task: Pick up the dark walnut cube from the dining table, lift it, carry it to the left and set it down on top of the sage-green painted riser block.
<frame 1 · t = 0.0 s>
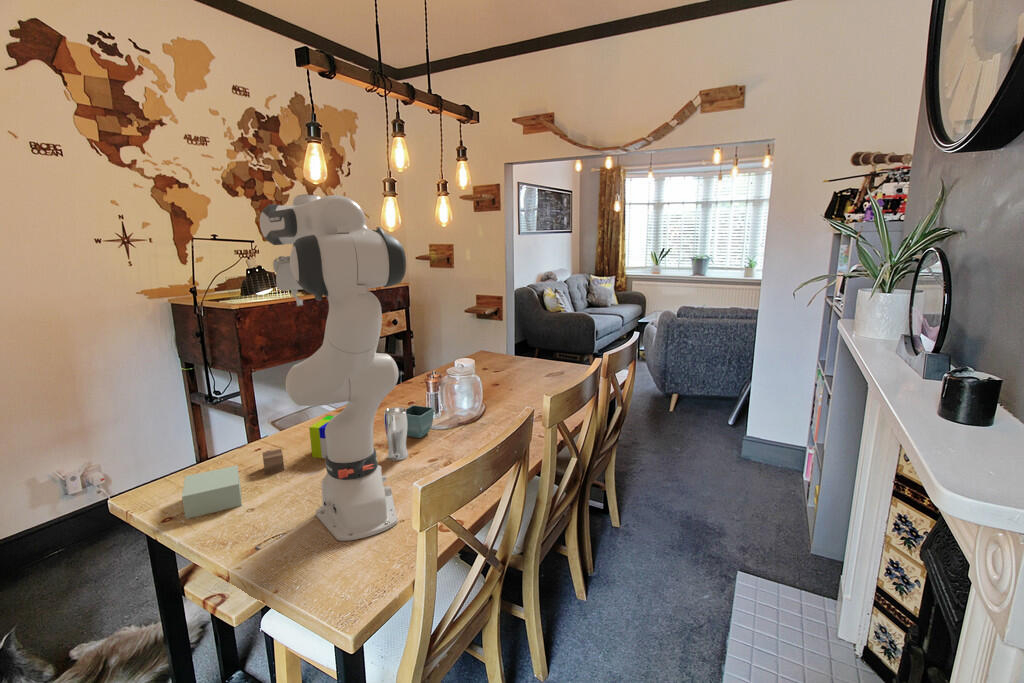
hand: (317, 304, 140), 48 cm above the table, fingers open, 8 cm apart
beer glass: (398, 457, 151), on the table
walnut cube: (274, 469, 144), on the table
flower pot: (417, 435, 168), on the table
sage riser: (214, 501, 126), on the table
puzzle toy: (335, 452, 155), on the table
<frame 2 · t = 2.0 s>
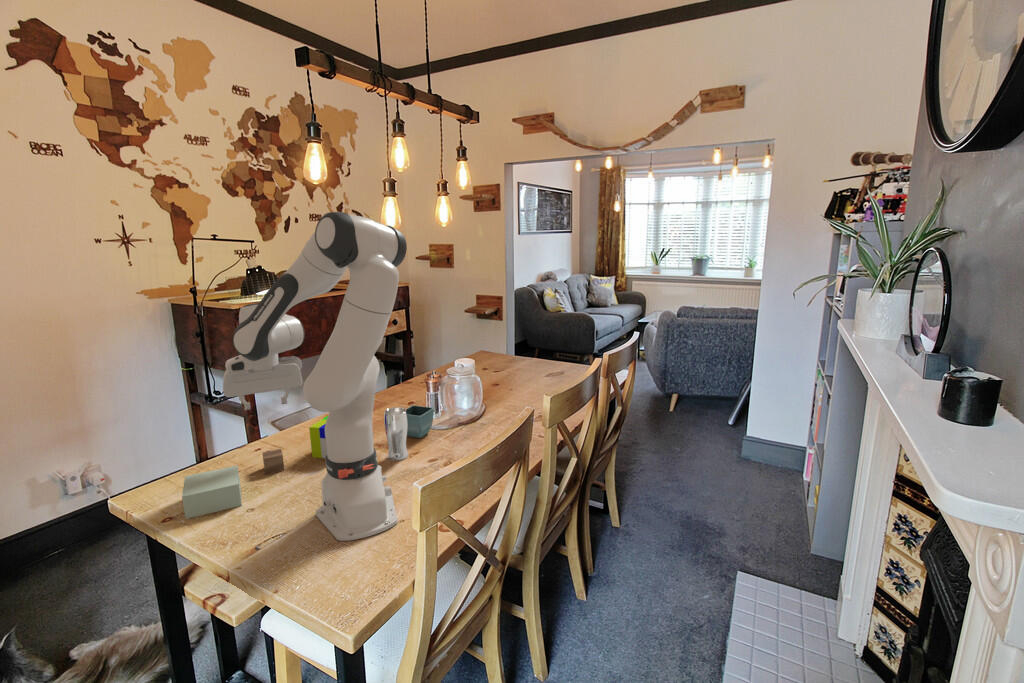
hand: (266, 406, 140), 19 cm above the table, fingers open, 8 cm apart
nothing on the table moved.
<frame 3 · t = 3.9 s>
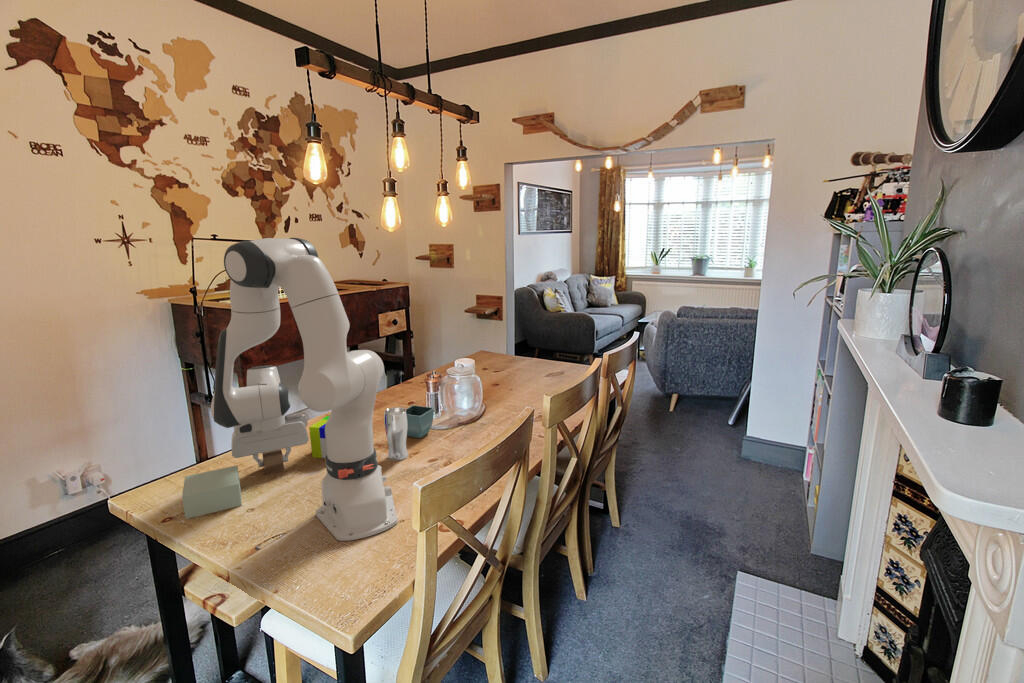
hand: (273, 463, 143), 2 cm above the table, fingers closed on walnut cube, 5 cm apart
walnut cube: (274, 468, 144), on the table, touching gripper
everything else where it was.
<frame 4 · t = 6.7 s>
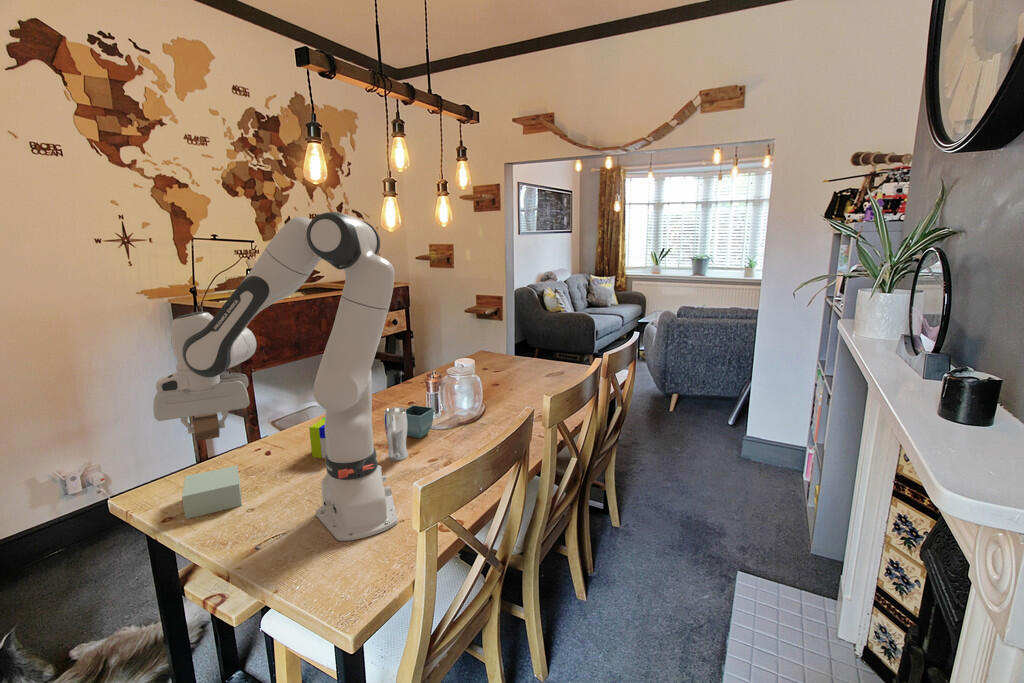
hand: (207, 430, 123), 19 cm above the table, fingers closed on walnut cube, 5 cm apart
walnut cube: (208, 435, 124), point 18 cm above the table, touching gripper
everything else where it was.
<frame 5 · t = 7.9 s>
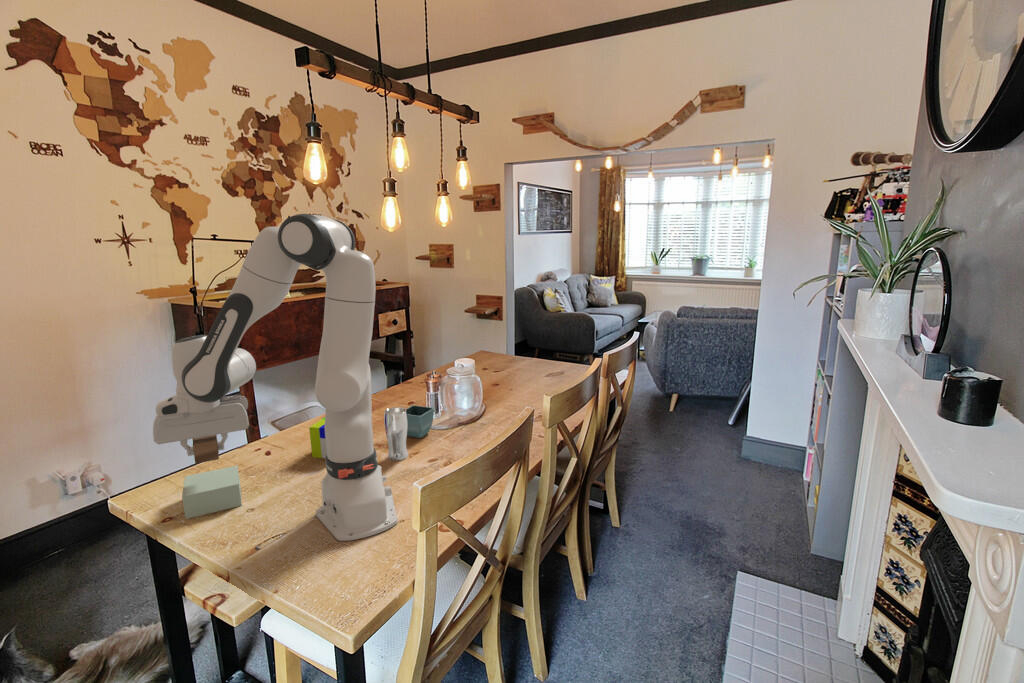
hand: (206, 452, 123), 14 cm above the table, fingers closed on walnut cube, 5 cm apart
walnut cube: (207, 457, 124), point 12 cm above the table, touching gripper
everything else where it was.
when the fingers open (9 cm above the table, at t = 9.1 s): walnut cube drops 1 cm, resting on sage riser.
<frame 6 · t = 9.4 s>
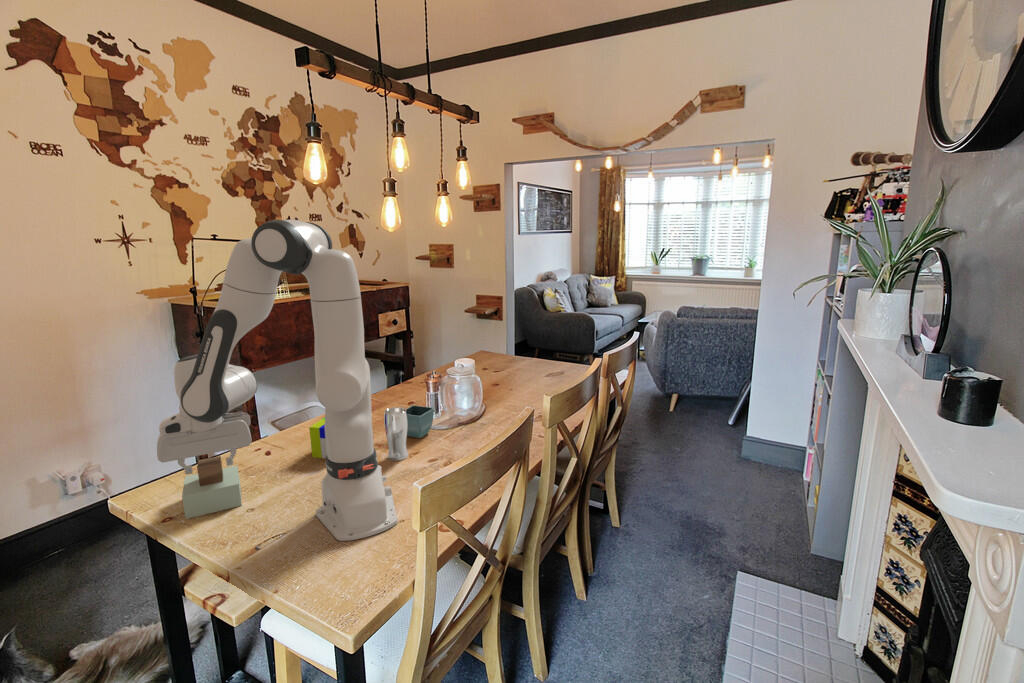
hand: (210, 468, 124), 9 cm above the table, fingers open, 8 cm apart
walnut cube: (211, 479, 125), point 6 cm above the table, touching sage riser
everything else where it was.
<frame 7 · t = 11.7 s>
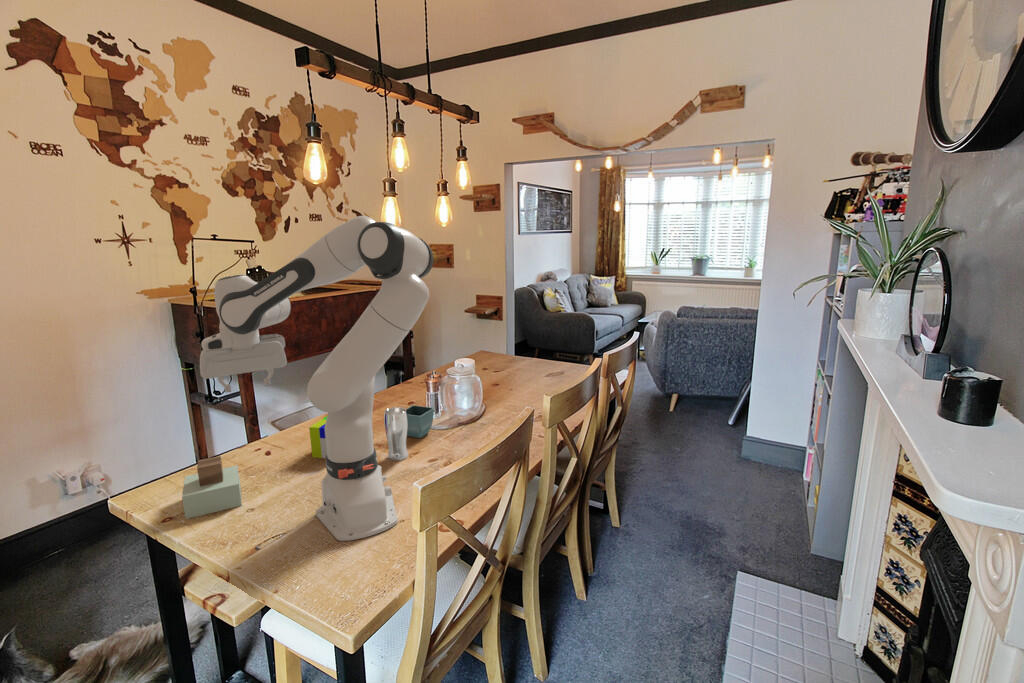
hand: (248, 388, 130), 27 cm above the table, fingers open, 8 cm apart
nothing on the table moved.
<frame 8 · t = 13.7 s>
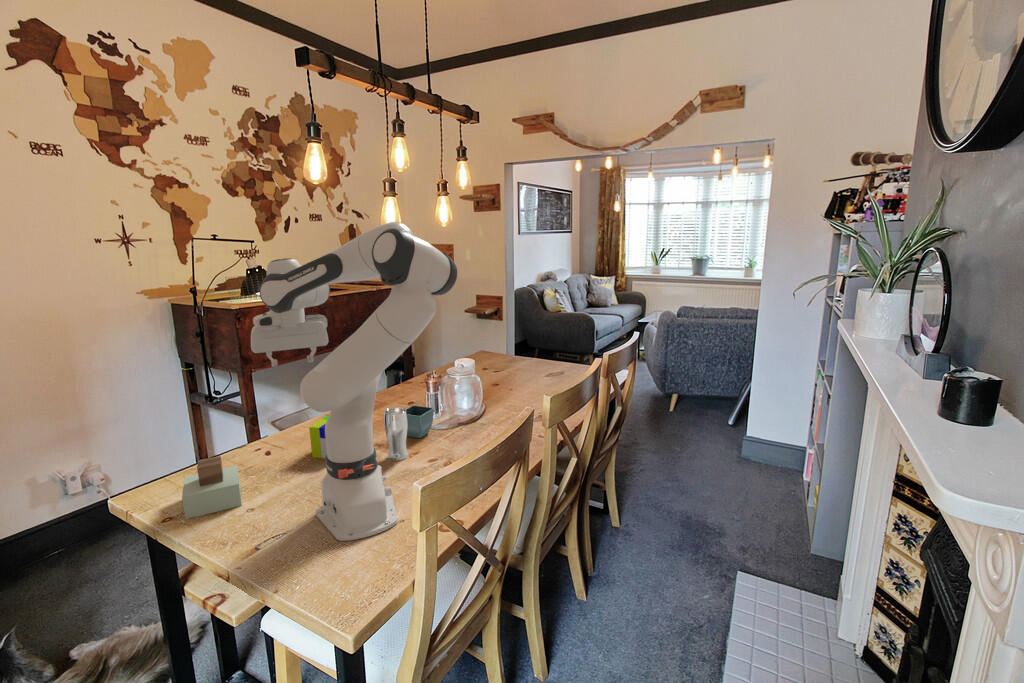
hand: (292, 364, 140), 31 cm above the table, fingers open, 8 cm apart
nothing on the table moved.
at the end: walnut cube inside the target area on the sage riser (0.1 cm from its centre), point 6.0 cm above the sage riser's base; walnut cube tilted 0°; the gripper is holding nothing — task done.
